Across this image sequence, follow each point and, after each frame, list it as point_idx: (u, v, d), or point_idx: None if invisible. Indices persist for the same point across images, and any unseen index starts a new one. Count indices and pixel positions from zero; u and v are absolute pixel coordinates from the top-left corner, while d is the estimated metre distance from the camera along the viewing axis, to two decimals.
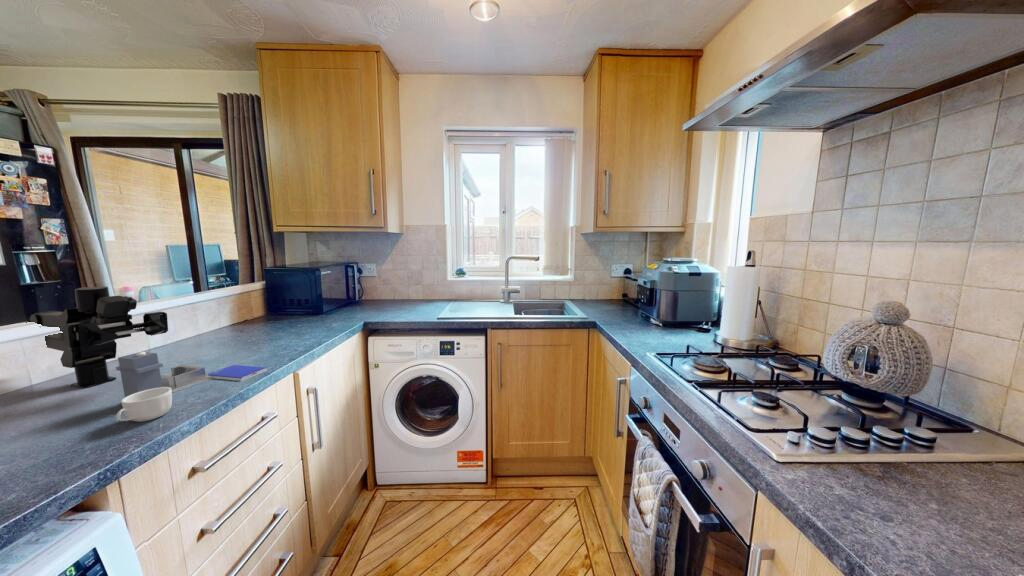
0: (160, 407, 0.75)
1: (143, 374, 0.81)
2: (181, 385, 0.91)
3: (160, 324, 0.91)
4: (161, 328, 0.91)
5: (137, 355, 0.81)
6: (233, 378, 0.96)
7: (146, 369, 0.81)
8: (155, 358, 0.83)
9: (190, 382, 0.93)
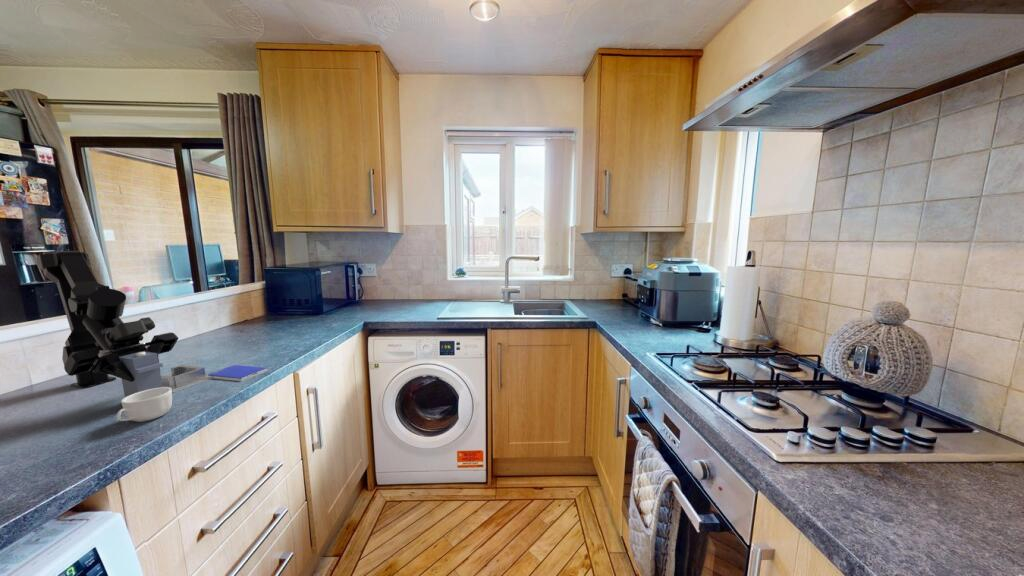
0: (160, 407, 0.75)
1: (143, 374, 0.81)
2: (181, 385, 0.91)
3: None
4: None
5: (137, 355, 0.81)
6: (233, 379, 0.96)
7: (146, 369, 0.81)
8: (155, 358, 0.83)
9: (190, 382, 0.93)
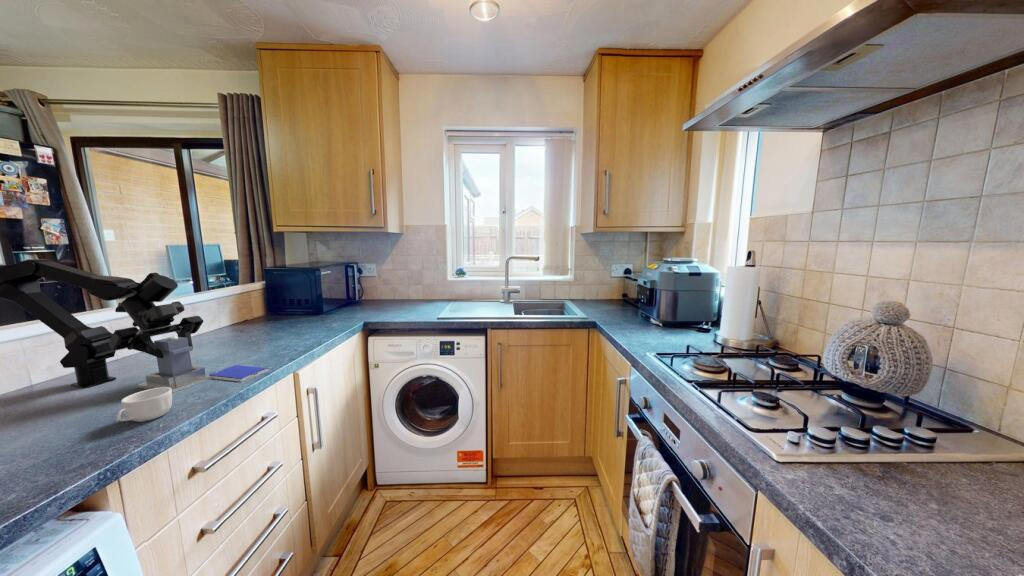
0: (160, 407, 0.75)
1: (176, 355, 0.92)
2: (181, 385, 0.91)
3: (190, 342, 0.97)
4: None
5: (171, 339, 0.92)
6: (233, 379, 0.96)
7: (179, 351, 0.92)
8: (186, 342, 0.94)
9: (190, 382, 0.93)
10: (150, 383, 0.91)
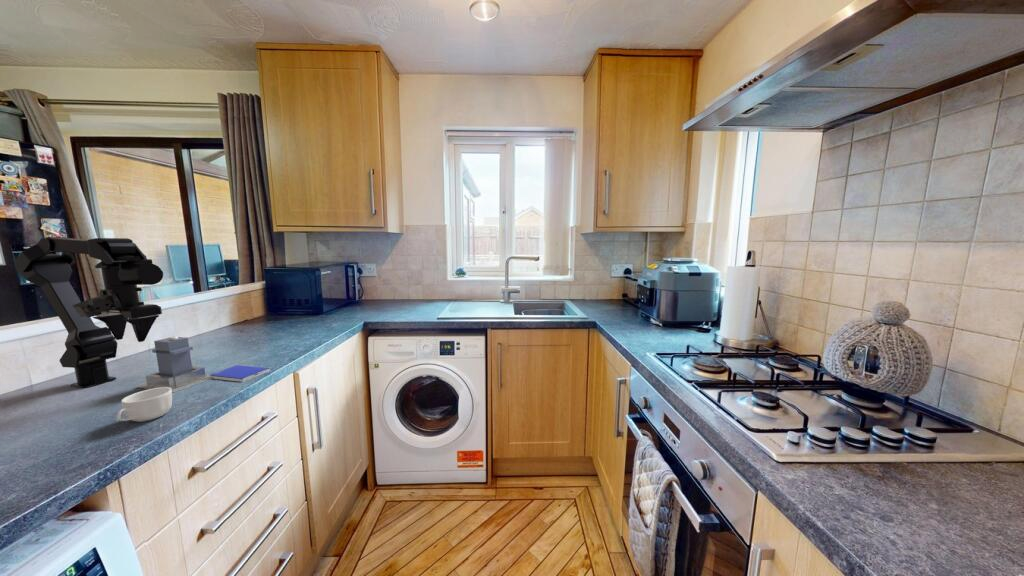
0: (160, 407, 0.75)
1: (176, 356, 0.92)
2: (181, 385, 0.91)
3: (136, 335, 0.89)
4: None
5: (171, 339, 0.92)
6: (234, 379, 0.96)
7: (180, 351, 0.92)
8: (186, 342, 0.94)
9: (190, 382, 0.93)
10: (150, 383, 0.91)
